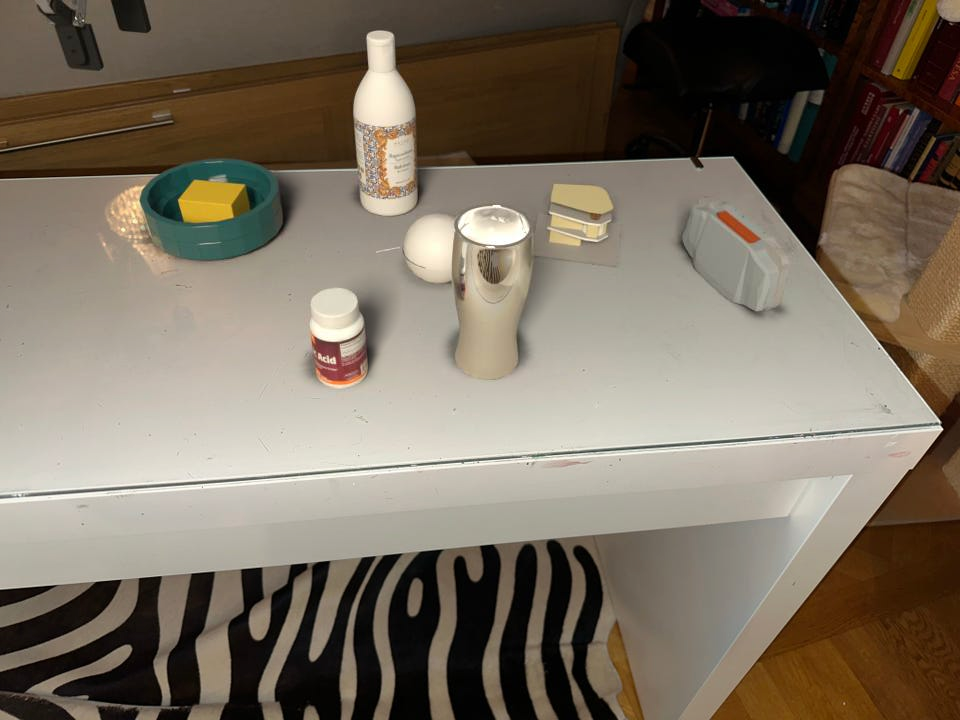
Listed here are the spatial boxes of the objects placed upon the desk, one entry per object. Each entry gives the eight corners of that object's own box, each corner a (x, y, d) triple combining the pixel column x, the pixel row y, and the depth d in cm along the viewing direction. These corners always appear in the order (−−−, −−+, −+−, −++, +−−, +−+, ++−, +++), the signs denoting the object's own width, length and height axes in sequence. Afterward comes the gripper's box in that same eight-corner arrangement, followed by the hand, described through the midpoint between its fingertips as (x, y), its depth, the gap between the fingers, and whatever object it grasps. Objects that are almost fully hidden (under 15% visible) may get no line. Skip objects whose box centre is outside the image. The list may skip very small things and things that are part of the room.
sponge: (186, 231, 84) (177, 199, 82) (201, 210, 88) (194, 179, 85) (237, 236, 84) (231, 204, 81) (251, 214, 87) (245, 184, 85)
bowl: (128, 258, 82) (115, 219, 78) (183, 190, 92) (174, 153, 89) (259, 272, 81) (251, 232, 77) (299, 202, 91) (294, 164, 88)
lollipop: (472, 257, 84) (474, 199, 79) (471, 298, 78) (473, 239, 73) (382, 255, 84) (378, 197, 79) (376, 296, 78) (371, 236, 73)
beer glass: (537, 357, 72) (553, 224, 62) (489, 395, 68) (498, 259, 58) (483, 325, 75) (489, 193, 65) (434, 359, 71) (433, 224, 61)
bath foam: (379, 224, 88) (367, 52, 75) (350, 198, 92) (334, 30, 79) (428, 207, 91) (426, 39, 78) (398, 183, 95) (391, 19, 82)
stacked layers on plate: (529, 255, 85) (533, 213, 81) (538, 213, 91) (542, 173, 87) (618, 267, 83) (626, 224, 80) (621, 224, 90) (629, 183, 86)
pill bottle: (306, 371, 70) (294, 300, 64) (347, 348, 72) (339, 277, 66) (337, 398, 67) (328, 326, 62) (379, 373, 70) (373, 302, 64)
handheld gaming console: (776, 320, 78) (802, 256, 72) (754, 327, 77) (777, 262, 71) (693, 246, 87) (710, 184, 82) (672, 251, 86) (687, 189, 81)
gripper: (61, -184, 67) (117, 16, 79) (-65, -151, 55) (24, 81, 66) (142, -179, 67) (186, 21, 78) (34, -144, 54) (106, 88, 66)
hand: (112, 48), depth 72 cm, fingers open, 9 cm apart
